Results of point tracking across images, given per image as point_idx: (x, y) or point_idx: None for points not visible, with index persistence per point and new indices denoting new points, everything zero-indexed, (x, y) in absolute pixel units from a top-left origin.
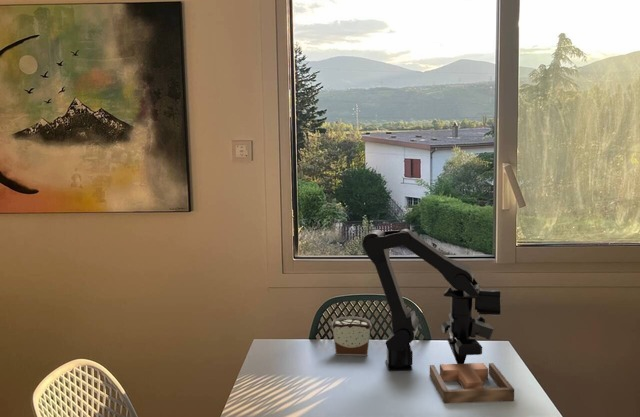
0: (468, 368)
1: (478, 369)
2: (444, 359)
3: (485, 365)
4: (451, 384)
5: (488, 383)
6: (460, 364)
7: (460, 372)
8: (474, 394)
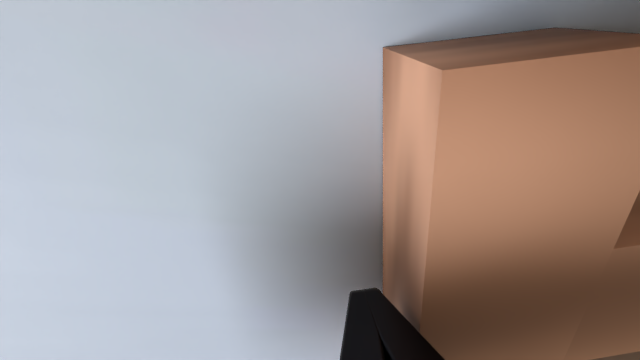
0: (567, 292)
1: (632, 189)
2: (73, 346)
3: (560, 58)
4: None
5: None
6: (439, 349)
7: (619, 352)
8: None
